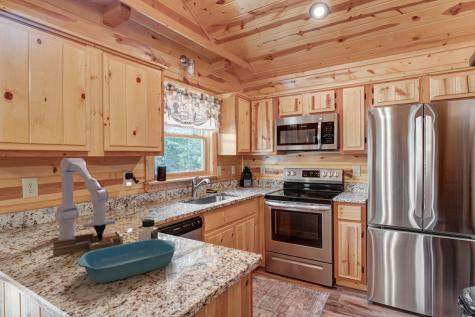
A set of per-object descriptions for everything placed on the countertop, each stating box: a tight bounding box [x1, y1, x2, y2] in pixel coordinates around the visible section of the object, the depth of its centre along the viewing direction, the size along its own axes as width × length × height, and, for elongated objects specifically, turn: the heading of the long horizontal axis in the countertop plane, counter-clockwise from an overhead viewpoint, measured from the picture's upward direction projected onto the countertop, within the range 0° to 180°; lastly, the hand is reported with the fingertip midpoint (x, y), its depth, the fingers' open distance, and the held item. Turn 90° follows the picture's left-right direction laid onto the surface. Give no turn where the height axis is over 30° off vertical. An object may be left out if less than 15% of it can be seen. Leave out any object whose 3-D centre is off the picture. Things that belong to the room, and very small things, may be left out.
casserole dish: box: [76, 238, 176, 284], centre depth 103 cm, size 37×22×7 cm, turn 131°
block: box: [101, 231, 116, 243], centre depth 134 cm, size 6×6×4 cm
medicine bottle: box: [137, 218, 159, 241], centre depth 133 cm, size 7×7×12 cm
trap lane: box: [52, 230, 124, 256], centre depth 129 cm, size 22×29×4 cm
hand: (99, 239), depth 131 cm, fingers closed
